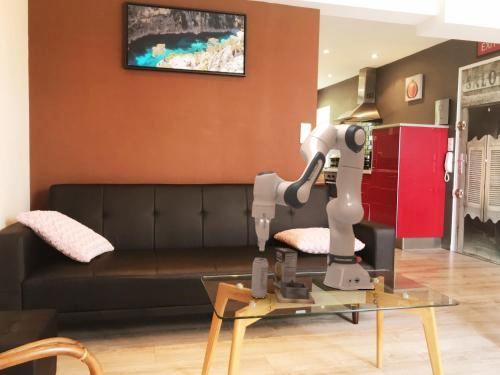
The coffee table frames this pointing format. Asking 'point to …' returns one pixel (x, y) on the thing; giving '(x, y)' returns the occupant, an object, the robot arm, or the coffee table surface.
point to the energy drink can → (259, 277)
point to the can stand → (294, 293)
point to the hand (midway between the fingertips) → (260, 248)
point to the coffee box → (284, 266)
